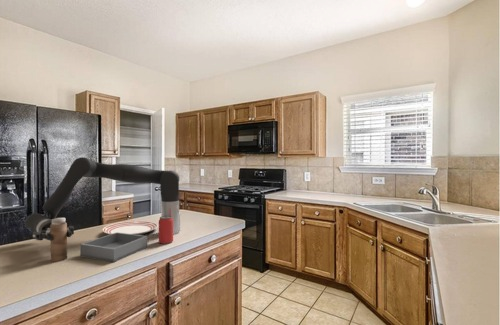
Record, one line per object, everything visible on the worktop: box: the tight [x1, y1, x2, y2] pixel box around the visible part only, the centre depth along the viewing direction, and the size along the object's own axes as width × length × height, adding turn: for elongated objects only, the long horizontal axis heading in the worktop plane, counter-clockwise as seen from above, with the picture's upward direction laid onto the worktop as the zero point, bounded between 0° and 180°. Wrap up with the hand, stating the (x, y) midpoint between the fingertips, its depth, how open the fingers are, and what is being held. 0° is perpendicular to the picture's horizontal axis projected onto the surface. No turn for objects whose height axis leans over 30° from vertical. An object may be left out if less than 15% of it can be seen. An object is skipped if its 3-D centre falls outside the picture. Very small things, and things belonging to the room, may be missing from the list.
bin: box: [79, 232, 149, 263], centre depth 111 cm, size 18×18×5 cm
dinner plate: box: [101, 220, 159, 236], centre depth 141 cm, size 27×27×3 cm
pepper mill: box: [50, 217, 68, 263], centre depth 102 cm, size 5×5×16 cm
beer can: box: [158, 216, 174, 245], centre depth 124 cm, size 7×7×12 cm
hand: (60, 236), depth 101 cm, fingers closed on pepper mill, 5 cm apart
